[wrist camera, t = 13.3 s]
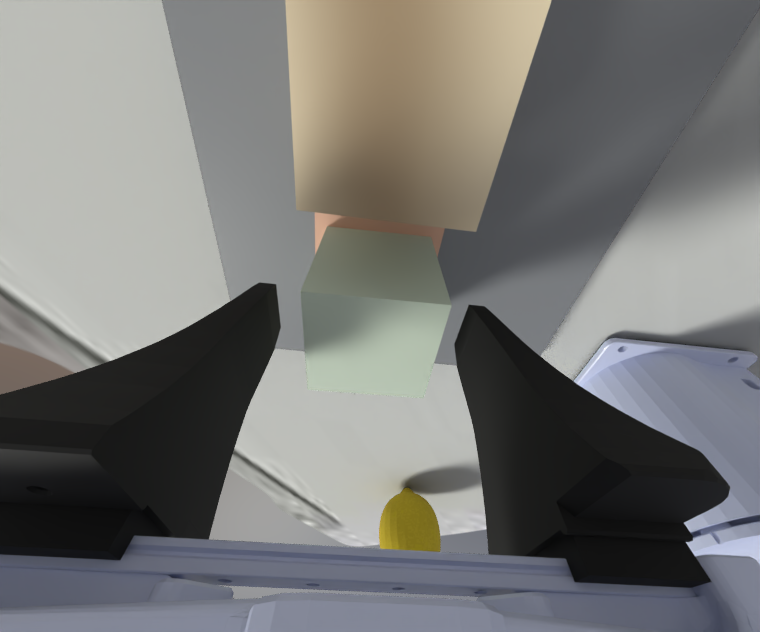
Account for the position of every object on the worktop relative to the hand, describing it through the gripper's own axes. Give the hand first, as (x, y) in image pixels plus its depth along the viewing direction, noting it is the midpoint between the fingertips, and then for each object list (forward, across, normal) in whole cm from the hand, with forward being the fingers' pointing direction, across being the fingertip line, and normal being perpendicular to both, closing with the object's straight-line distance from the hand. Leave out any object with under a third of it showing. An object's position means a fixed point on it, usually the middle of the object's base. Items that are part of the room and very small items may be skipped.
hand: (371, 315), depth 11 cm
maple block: (+3, 0, -7) cm, 7 cm away
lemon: (+5, -6, +25) cm, 26 cm away
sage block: (+3, 0, 0) cm, 3 cm away
